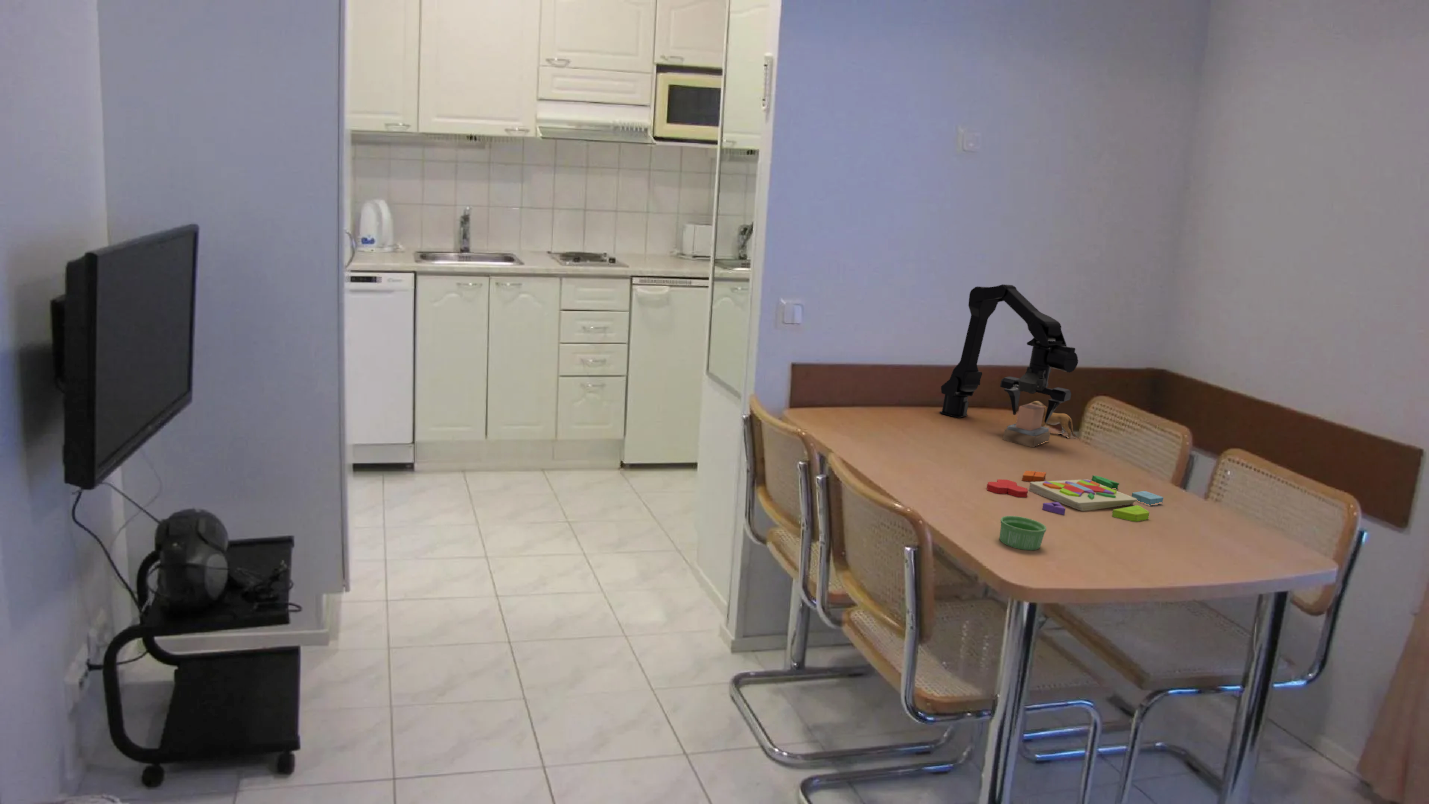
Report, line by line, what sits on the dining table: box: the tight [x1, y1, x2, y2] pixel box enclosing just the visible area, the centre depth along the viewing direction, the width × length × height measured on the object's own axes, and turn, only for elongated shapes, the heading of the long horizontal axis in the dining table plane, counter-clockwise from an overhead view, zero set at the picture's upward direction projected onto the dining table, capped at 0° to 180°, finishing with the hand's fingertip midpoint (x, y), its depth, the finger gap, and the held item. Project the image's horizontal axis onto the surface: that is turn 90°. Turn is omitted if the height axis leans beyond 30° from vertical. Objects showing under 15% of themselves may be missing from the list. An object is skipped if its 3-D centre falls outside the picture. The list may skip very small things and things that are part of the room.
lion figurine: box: [1030, 400, 1077, 439], centre depth 339 cm, size 15×5×9 cm, turn 74°
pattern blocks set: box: [986, 470, 1164, 523], centre depth 272 cm, size 38×34×3 cm
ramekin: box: [999, 515, 1047, 551], centre depth 231 cm, size 9×9×4 cm
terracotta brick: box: [1015, 402, 1045, 431], centre depth 325 cm, size 4×8×6 cm, turn 144°
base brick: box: [1002, 423, 1051, 448], centre depth 326 cm, size 9×12×4 cm
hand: (1029, 418), depth 325 cm, fingers open, 9 cm apart
